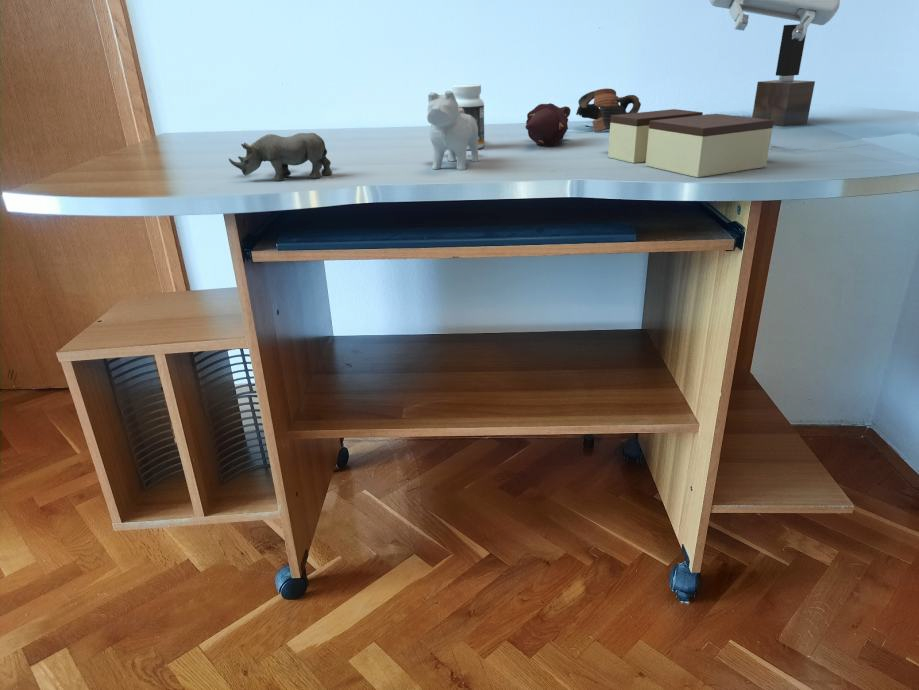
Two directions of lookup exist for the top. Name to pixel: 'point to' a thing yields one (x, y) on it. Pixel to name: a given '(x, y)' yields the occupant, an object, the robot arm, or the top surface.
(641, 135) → the cake slice
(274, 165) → the rhino figurine
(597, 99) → the pottery mug
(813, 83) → the knife block
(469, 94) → the pill bottle
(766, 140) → the cake
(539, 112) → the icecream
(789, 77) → the knife
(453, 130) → the dog figurine
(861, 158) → the top surface
